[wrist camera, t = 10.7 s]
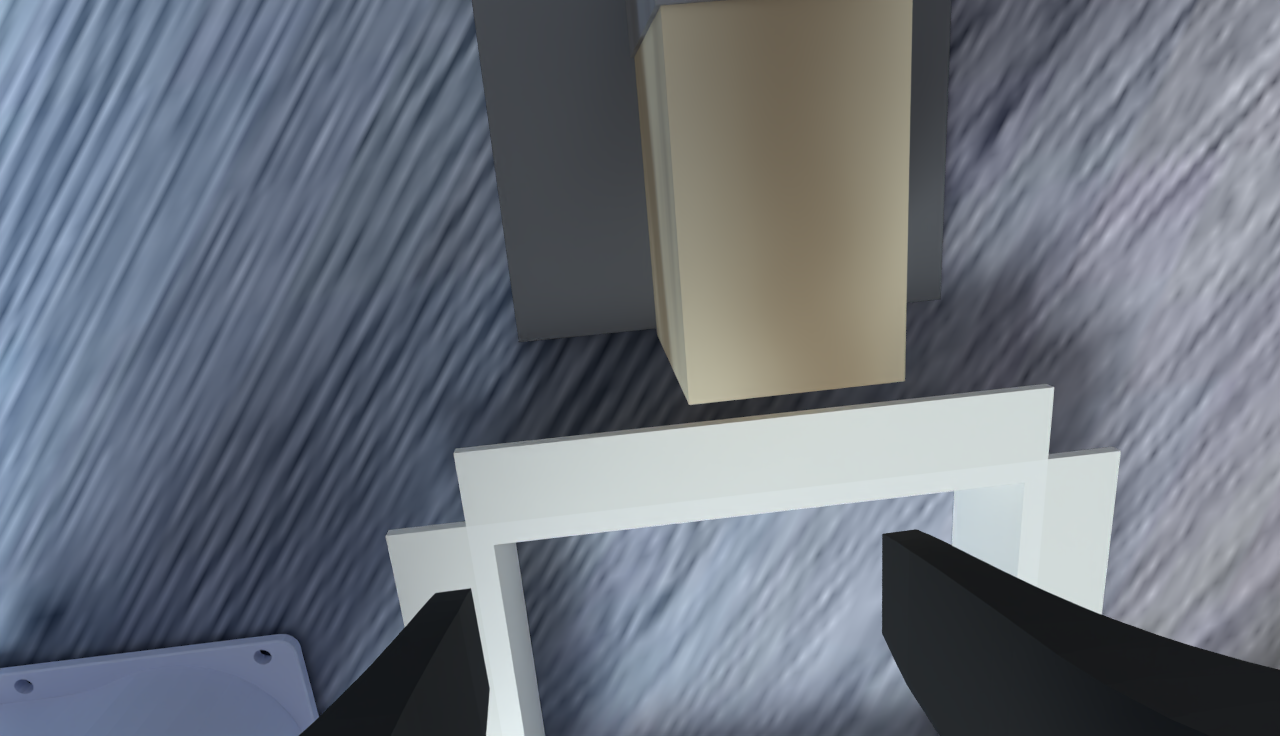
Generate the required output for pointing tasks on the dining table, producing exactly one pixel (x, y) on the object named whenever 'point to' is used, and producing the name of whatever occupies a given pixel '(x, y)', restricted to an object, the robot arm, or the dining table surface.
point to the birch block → (776, 190)
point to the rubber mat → (633, 161)
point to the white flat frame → (763, 501)
